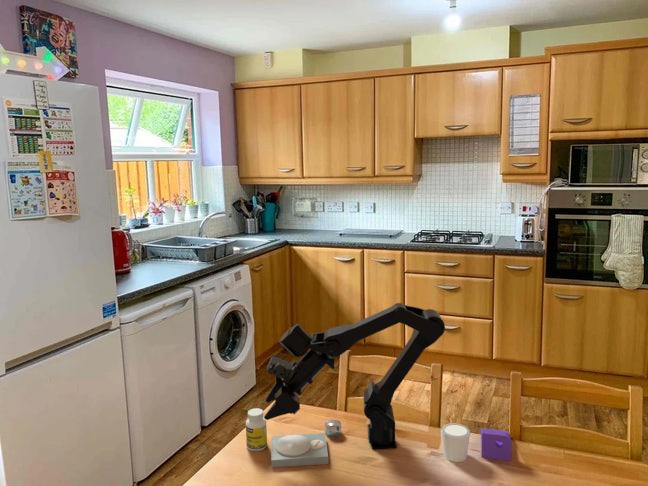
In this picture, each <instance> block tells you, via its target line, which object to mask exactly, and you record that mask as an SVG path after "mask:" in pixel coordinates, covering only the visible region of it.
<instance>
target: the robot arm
mask: <svg viewBox="0 0 648 486" xmlns="http://www.w3.org/2000/svg"><path fill="white" fill-rule="evenodd" d="M399 323H400V324H402V325H405V326H408V328H411V329H413V330H412V333H411V336H410V338H409V340H408V341H407V342H406V344H405V345H404V347H403V348H402V350H401V352H400V353H399V354H398V356H397V357H396V358H395V360H393V361H394V362H393V363H392V364H391V365H390V366H389V368H388V370H387V371H386V373H385V374H384V376H383V377H382V379H381V380H379V381H378V382H374V381H373V380H371V381H370V383H369V385H368V387H367V388H366V389H365V390H364V391H363V398H362V401H363V413H364V416H365V417H366V418H367V419H368V420H369V423H368V424H367V441H368V443H369V444H370V446H371V449H372V450H381V449H382V450H383V449H396V448H397V447H398V444H397V443H396V420H395V415H394V409H393V405H392V404H391V403H392V400H393V398H394V394H395V392H396V391H397V389H398V388H399V386H400V385H401V383H402V382H403V381H404V379H405V378H406V377H407V375H408V373H409V372H410V371H411V369H412V368H413V366H414V365H415V363H416V362H417V360H419V358H420V357H421V355H422V353H423V352H424V351H425V350H426V349H427V348H429V347H430V346H432V345H434V344H435V343H436V342H437V341H438V340H439V339H440V338H441V337H442V336H443V335H444V333H445V331H446V325H445V322H444V320H443V318H442V316H441V315H440V313H439V312H438V311H437V310H435V309H430V308H428V309H423V308H421V307H417V306H411V305H407V304H404V303H402V302H397V303H394V304H393V305H392V306H389V307H388V308H386V309H385V308H384V310H381V311H379V312H376V313H375V314H373V315H370V316H368V317H365V318H364V319H361V320H359V321H357V322H353V323H352V324H346V325H339V326H334V327H331V328H328V329H326V331H324V332H323V331H321V332H315V333H312V334H310V333H309V332H308V331H307V330H305V328H304V327H303V326H302V325H301V324H300V323H299V322H298V323H296V324H295V325H293V326H292V327H290V328H288V329H287V330H286V331H285V333H283V334H282V336H281V337H280V339H279V340H278V341H279V342H278V343H280V344H281V346H283V347H284V348H285V349H286V350H287V351H288V352H289V353H290V354H291V355H292V356H294V357H297V358H300V357H301V358H300V359H299V360H297V359H296V360H294V361H293V362H291V363H290V362H288V360H285V359H282V358H279V357H277V356H274V355H273V356H271V357H270V359H269V362H268V363H267V365H266V366H267V367H266V373H267V374H268V375H270V376H275V383H274V384H273V386H272V388H271V389H270V391H269V393H268V394H267V396H266V398H265V402H266V403H268V404H269V403H270V402H273V401H274V402H273V403H272V404H271V406H270V408H269V409H268V410H267V412H266V413H265V415H263V417H264V418H265V419H266V421H269V420H271V419H274V418H277V417H281V416H284V415H288V414H292V415H296V414H297V413H298V411H300V409H301V406H300V405H301V404H300V397H299V396H301V395H302V393H303V389H304V388H305V387H306V386H307V385H308V384H309V385H312V383H314V378H315V377H316V376H317V375H318V374H319V373H320V372H321V371H322V370H323V369H324V368H325V367H326V366H328V367H329V368H331V369H332V370H334V369H335V361H336V358H338V357H339V356H341V355H343V354H344V353H346V352H347V351H349V350H350V349H351V348H352V347H353V346H354V345H356V344H357V343H358V342H359V341H362V340H363V339H364V340H365V339H366V338H369V337H370V336H373V335H375V334H378V333H379V332H381V331H384V330H386V329H388V328H391V327H393V326H395V325H397V324H399Z"/></svg>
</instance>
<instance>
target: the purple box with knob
mask: <svg viewBox="0 0 648 486" xmlns="http://www.w3.org/2000/svg"><path fill="white" fill-rule="evenodd" d="M480 444H481V445H480V446H481V449H480V451H481V452H480V453H481V454H480V455H481V458H484V459H485V458H486V459H492V460H501V461H506V462H507V461H508V462H511V461H512V460H511V459H512V456H511V455H512V436H511V434H509V431H507V430H499V429H489V428H483V427H482V428H481V429H480Z"/></svg>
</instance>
